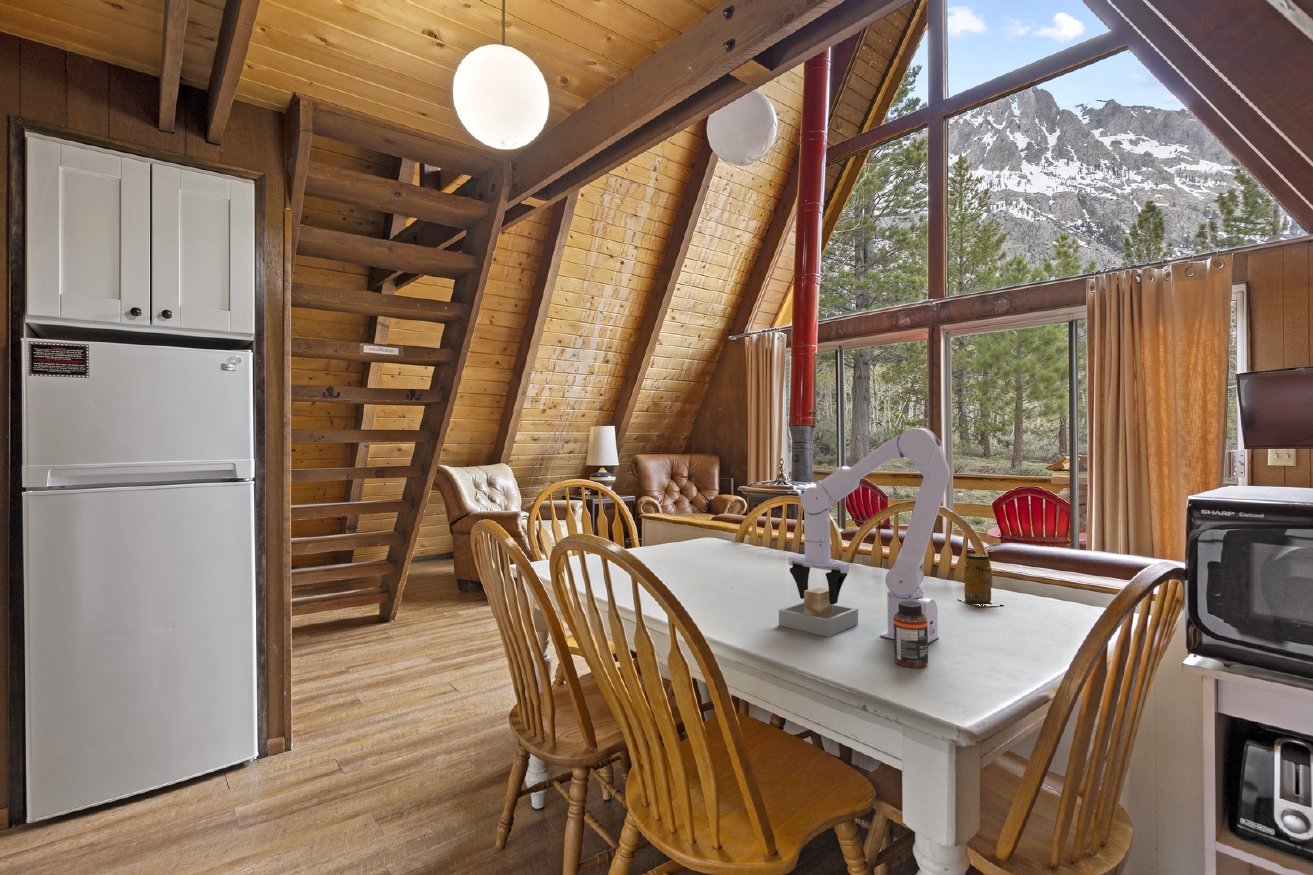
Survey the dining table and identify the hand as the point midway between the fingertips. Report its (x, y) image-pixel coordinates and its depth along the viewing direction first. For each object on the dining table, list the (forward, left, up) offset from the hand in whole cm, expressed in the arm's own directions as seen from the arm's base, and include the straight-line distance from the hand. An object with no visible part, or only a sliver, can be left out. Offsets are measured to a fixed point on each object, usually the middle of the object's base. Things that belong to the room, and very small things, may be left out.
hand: (818, 600), depth 148 cm
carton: (0, 0, -5) cm, 5 cm away
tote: (0, 0, -6) cm, 6 cm away
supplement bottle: (-26, +10, -6) cm, 28 cm away
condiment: (-19, -44, -6) cm, 48 cm away
